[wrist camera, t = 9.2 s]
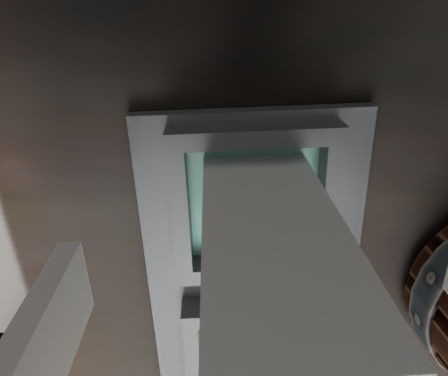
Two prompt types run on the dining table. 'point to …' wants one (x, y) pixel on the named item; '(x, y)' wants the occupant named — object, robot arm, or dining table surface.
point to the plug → (290, 280)
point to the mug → (430, 297)
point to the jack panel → (193, 192)
